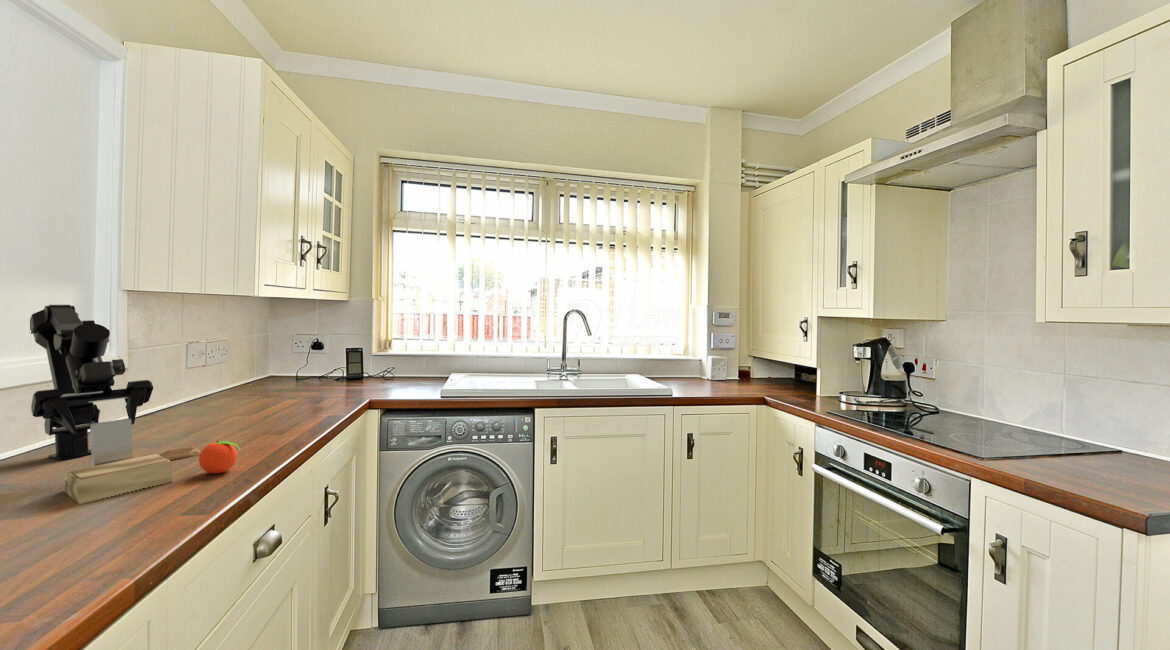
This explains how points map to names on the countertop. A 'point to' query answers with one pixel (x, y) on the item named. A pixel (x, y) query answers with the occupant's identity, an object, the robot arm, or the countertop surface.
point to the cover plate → (111, 441)
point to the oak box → (117, 478)
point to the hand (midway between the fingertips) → (105, 427)
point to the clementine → (218, 457)
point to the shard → (181, 453)
